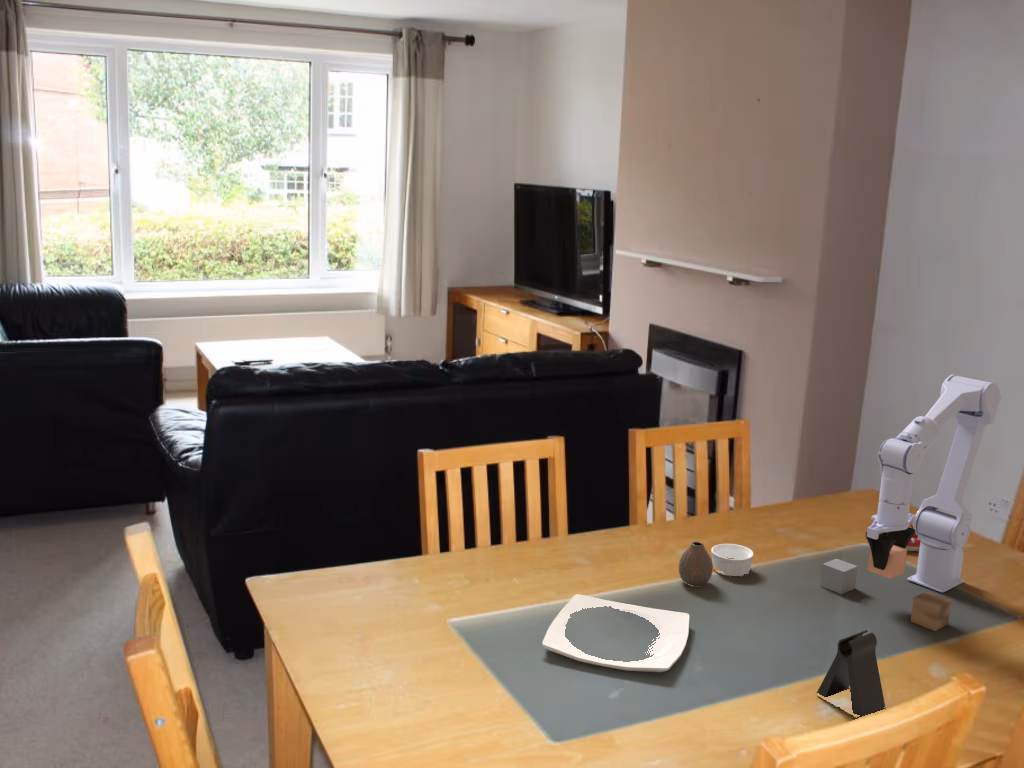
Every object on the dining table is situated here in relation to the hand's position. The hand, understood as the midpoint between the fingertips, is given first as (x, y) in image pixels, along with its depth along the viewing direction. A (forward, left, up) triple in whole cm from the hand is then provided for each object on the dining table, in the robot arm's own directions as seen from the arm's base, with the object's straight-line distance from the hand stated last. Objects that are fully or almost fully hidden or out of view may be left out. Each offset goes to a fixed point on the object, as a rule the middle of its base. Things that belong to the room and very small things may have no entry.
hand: (886, 564), depth 196 cm
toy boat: (-35, -12, -9) cm, 38 cm away
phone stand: (+39, +17, -9) cm, 43 cm away
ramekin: (+11, -29, -9) cm, 32 cm away
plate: (+54, -21, -9) cm, 59 cm away
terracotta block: (0, 0, -2) cm, 2 cm away
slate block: (0, -10, -8) cm, 13 cm away
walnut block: (0, +10, -8) cm, 13 cm away
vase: (+23, -29, -9) cm, 38 cm away
